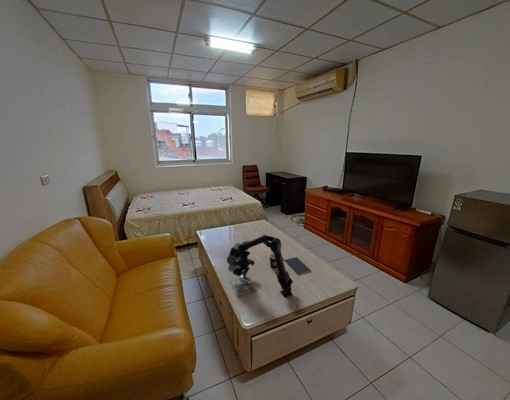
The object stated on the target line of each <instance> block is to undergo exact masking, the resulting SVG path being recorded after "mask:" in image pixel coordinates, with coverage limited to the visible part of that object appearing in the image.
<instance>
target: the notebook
mask: <svg viewBox="0 0 510 400" xmlns="http://www.w3.org/2000/svg"><path fill="white" fill-rule="evenodd" d="M283 260H284V261H283V262H284V263H286V264H287V266H288V267H289V268H290V269H291V270H292V271H293V272H294V273H295V274H296V275H297V276H298V275H303V274H306V273H309V272H312V270H311V269H310V268H309V267H308V266H307V265H306V264H305V263H304V262H303V261H302V260H300V258H299V257H297V256H296V257H292V258H287V259H283Z"/></svg>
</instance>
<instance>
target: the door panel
mask: <svg viewBox="0 0 510 400" xmlns="http://www.w3.org/2000/svg"><path fill="white" fill-rule="evenodd" d="M246 277H247V278H248V279H251V278H250V277H249V276H246ZM230 284H231V286H232V288H233V290H234V292H235V294H236V296H237V298H239V297H242V296H245V295H248V294H252V293H255V292H258V289H257V288H256V286H255V285H254V283H253V281H252V280H251V285H248V284H247V283H245V282H244V281H242V280H240V278H238V279H234V280H230Z"/></svg>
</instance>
